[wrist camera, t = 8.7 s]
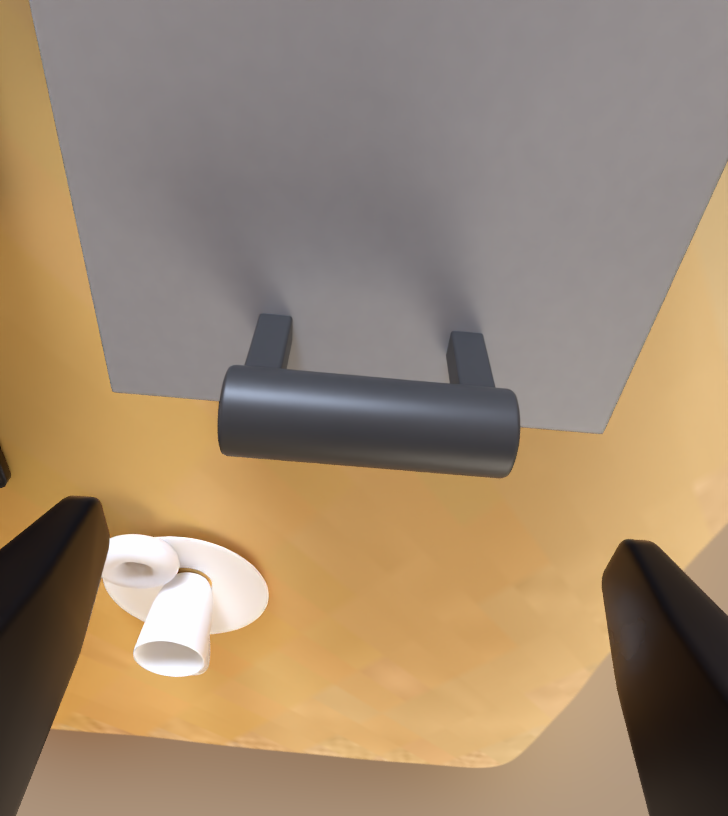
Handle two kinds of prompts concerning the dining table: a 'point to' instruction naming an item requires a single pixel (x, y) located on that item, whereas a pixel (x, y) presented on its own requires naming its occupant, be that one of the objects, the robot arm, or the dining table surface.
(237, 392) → the grey box lid
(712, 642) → the robot arm
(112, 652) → the dining table surface
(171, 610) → the teacup and saucer
